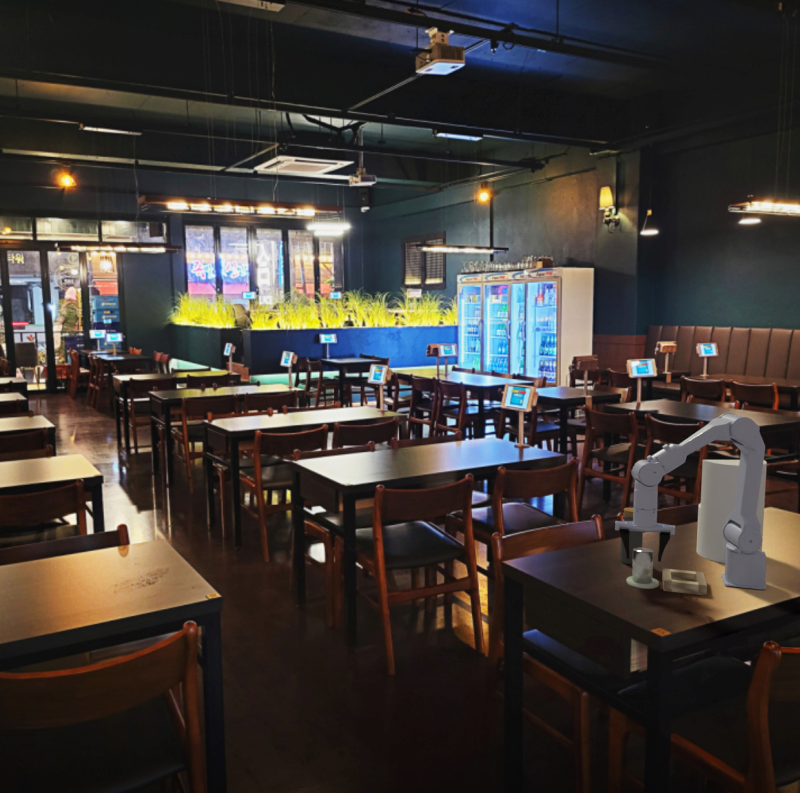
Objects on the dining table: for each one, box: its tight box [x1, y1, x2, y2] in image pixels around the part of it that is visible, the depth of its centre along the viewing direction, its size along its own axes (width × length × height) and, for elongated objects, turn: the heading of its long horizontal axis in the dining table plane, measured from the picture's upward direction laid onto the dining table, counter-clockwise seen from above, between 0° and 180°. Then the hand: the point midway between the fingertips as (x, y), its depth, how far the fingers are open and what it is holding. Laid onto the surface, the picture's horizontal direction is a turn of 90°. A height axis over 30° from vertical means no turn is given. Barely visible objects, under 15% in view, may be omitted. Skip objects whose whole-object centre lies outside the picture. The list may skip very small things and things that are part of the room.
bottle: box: [619, 507, 644, 566], centre depth 205 cm, size 6×6×15 cm
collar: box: [661, 568, 708, 596], centre depth 186 cm, size 10×10×2 cm
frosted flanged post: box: [631, 547, 654, 584], centre depth 188 cm, size 5×5×8 cm
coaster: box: [626, 575, 660, 590], centre depth 188 cm, size 8×8×1 cm
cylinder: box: [696, 459, 768, 564], centre depth 210 cm, size 17×17×28 cm
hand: (643, 558), depth 188 cm, fingers open, 7 cm apart
